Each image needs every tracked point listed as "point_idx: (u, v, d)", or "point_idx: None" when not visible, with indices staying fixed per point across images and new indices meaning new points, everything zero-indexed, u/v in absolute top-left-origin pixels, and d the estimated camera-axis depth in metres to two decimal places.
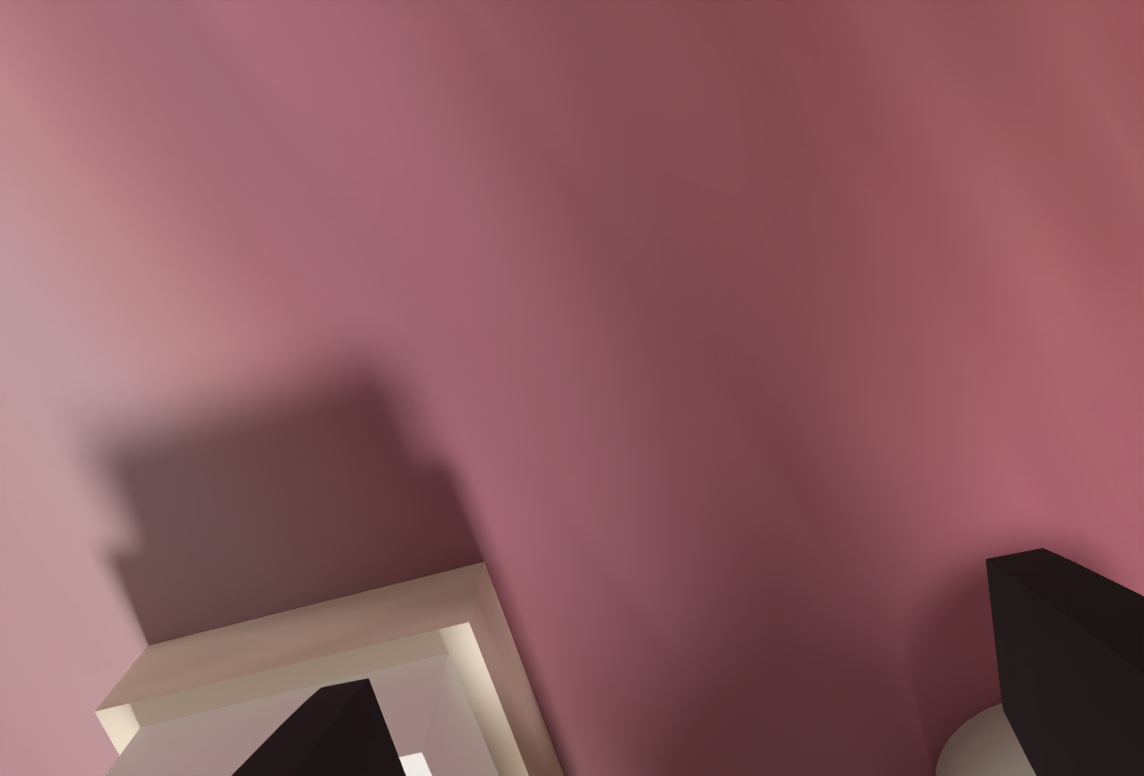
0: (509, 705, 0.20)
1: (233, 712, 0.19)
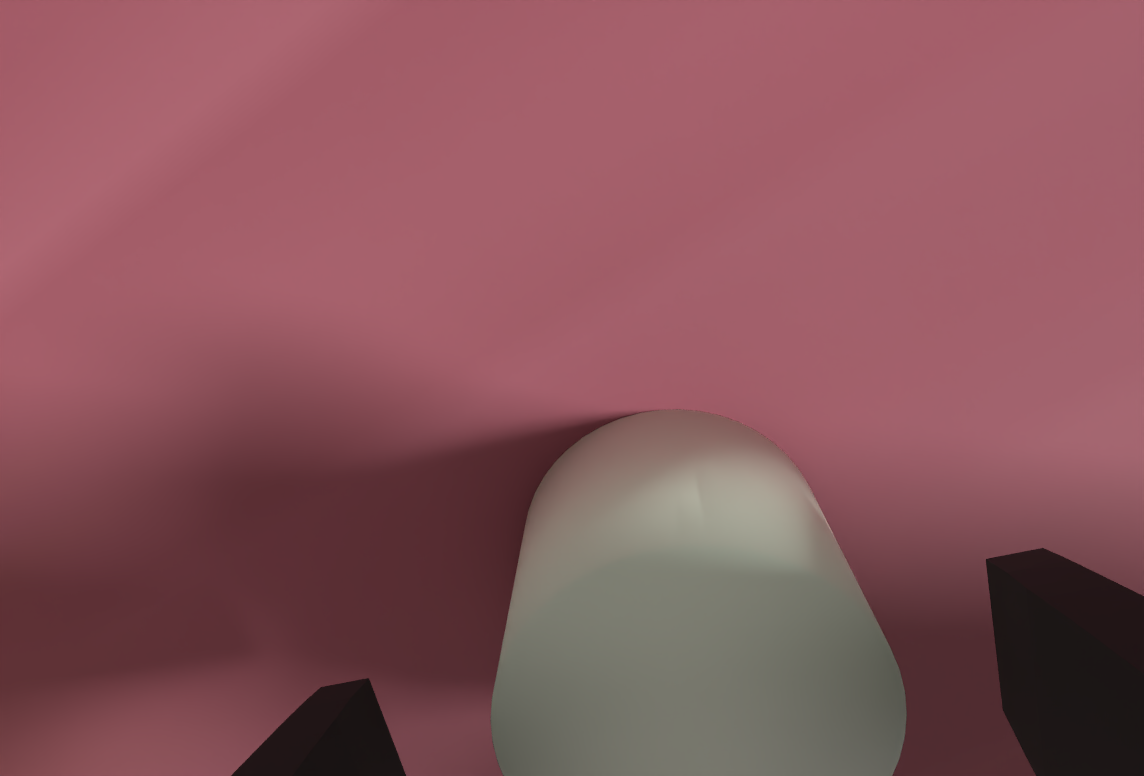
0: None
1: None
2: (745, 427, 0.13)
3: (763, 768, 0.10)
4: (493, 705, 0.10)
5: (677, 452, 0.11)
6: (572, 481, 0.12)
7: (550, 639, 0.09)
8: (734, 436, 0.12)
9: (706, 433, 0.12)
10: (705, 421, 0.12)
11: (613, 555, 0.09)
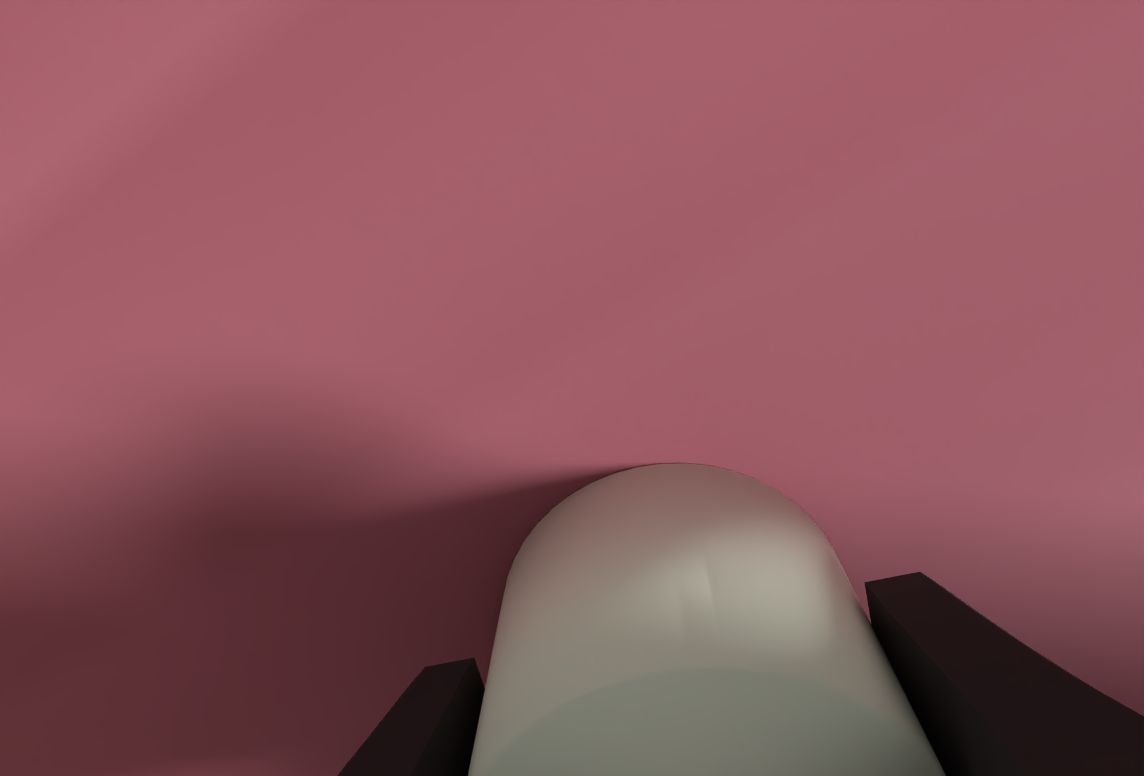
0: None
1: None
2: (761, 485, 0.11)
3: None
4: None
5: (683, 525, 0.09)
6: (556, 557, 0.10)
7: None
8: (749, 498, 0.10)
9: (716, 497, 0.10)
10: (714, 480, 0.10)
11: (603, 677, 0.07)
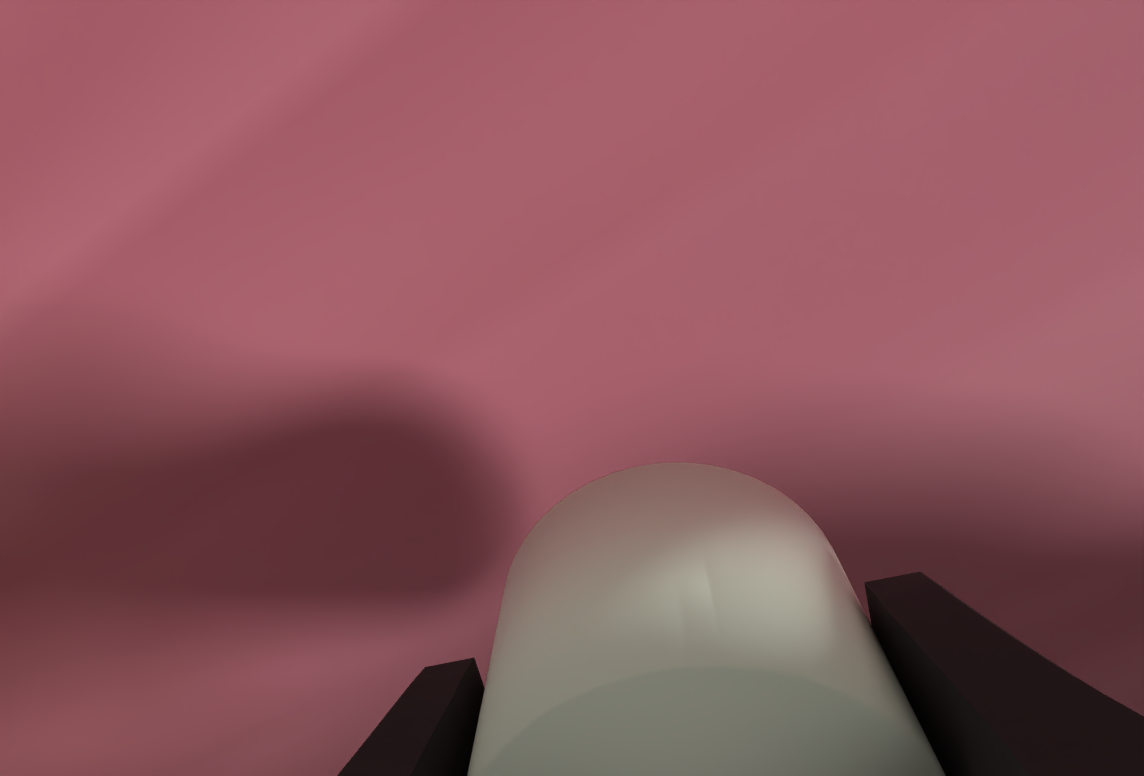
0: None
1: None
2: (760, 484, 0.11)
3: None
4: None
5: (682, 524, 0.09)
6: (556, 555, 0.10)
7: (524, 774, 0.07)
8: (748, 498, 0.10)
9: (715, 495, 0.10)
10: (713, 479, 0.10)
11: (603, 675, 0.07)
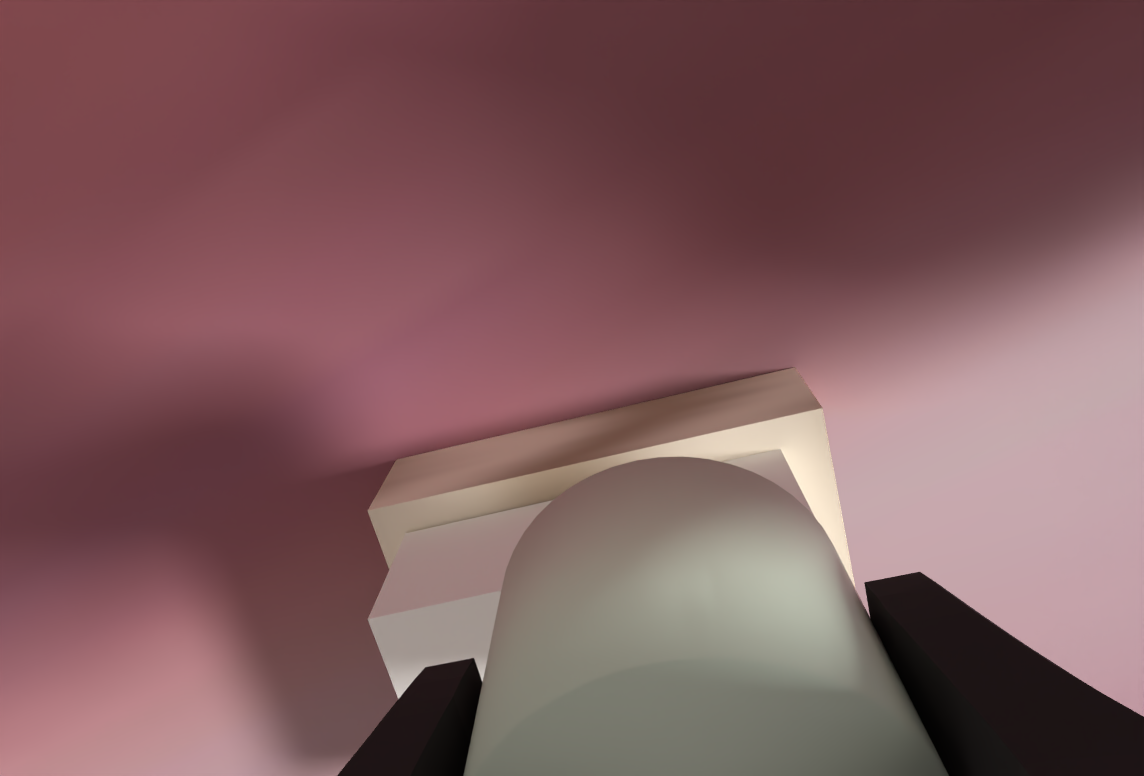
0: (498, 471, 0.18)
1: None
2: (761, 479, 0.11)
3: None
4: None
5: (682, 517, 0.09)
6: (556, 548, 0.10)
7: (524, 768, 0.07)
8: (749, 492, 0.10)
9: (716, 490, 0.10)
10: (714, 474, 0.10)
11: (603, 667, 0.07)
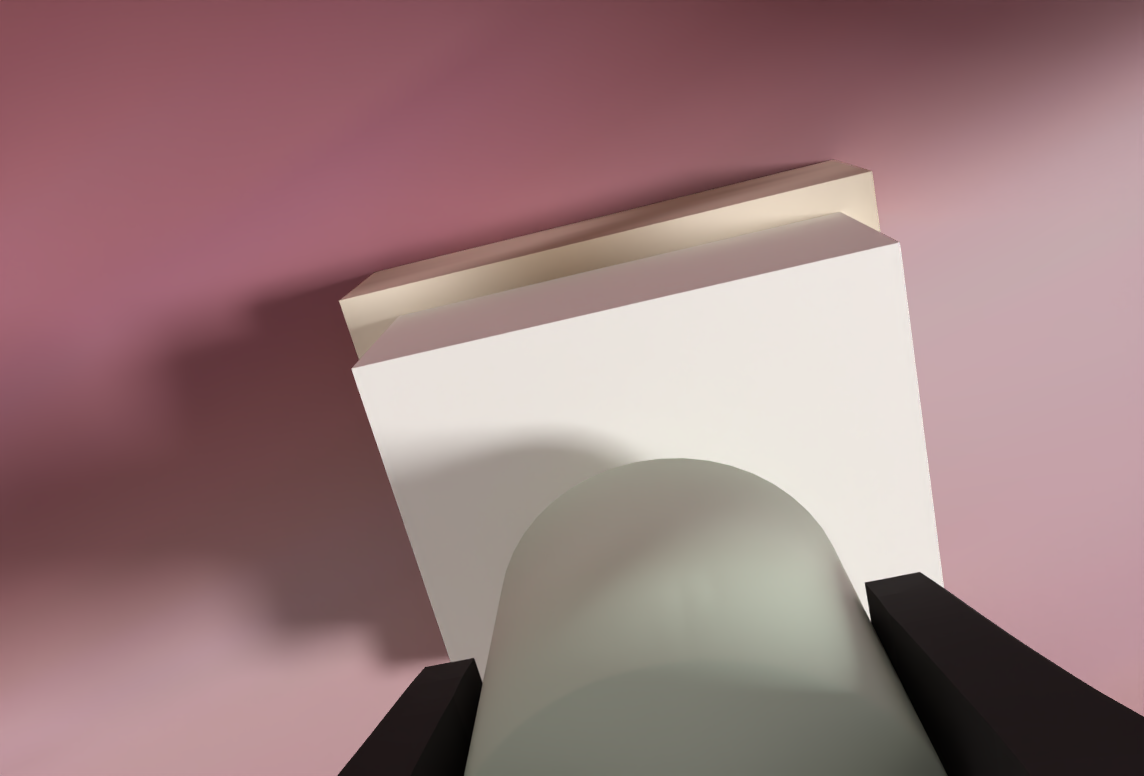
0: (491, 259, 0.15)
1: None
2: (761, 481, 0.11)
3: None
4: None
5: (682, 519, 0.09)
6: (556, 550, 0.10)
7: (523, 770, 0.07)
8: (749, 493, 0.10)
9: (715, 491, 0.10)
10: (714, 475, 0.10)
11: (603, 669, 0.07)
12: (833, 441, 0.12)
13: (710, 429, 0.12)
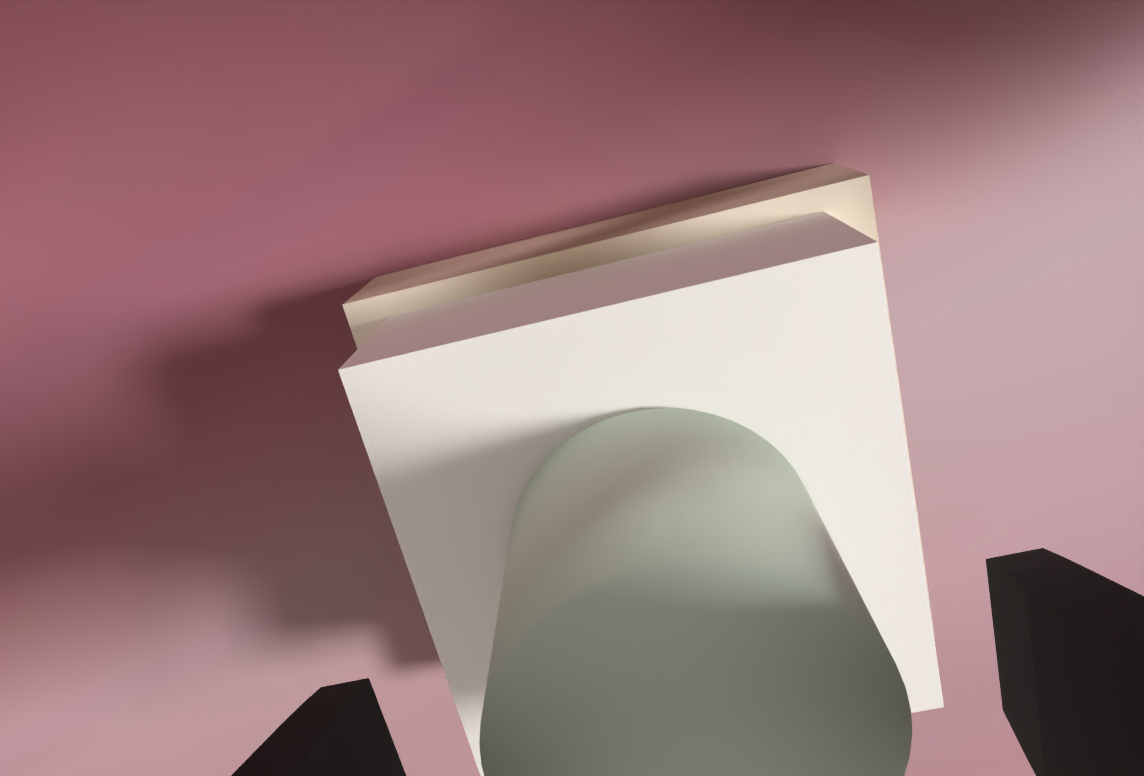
0: (493, 263, 0.15)
1: None
2: (740, 427, 0.12)
3: None
4: (482, 728, 0.09)
5: (671, 457, 0.11)
6: (561, 487, 0.11)
7: (541, 658, 0.09)
8: (730, 436, 0.12)
9: (701, 435, 0.11)
10: (699, 423, 0.12)
11: (608, 574, 0.09)
12: (813, 439, 0.12)
13: None
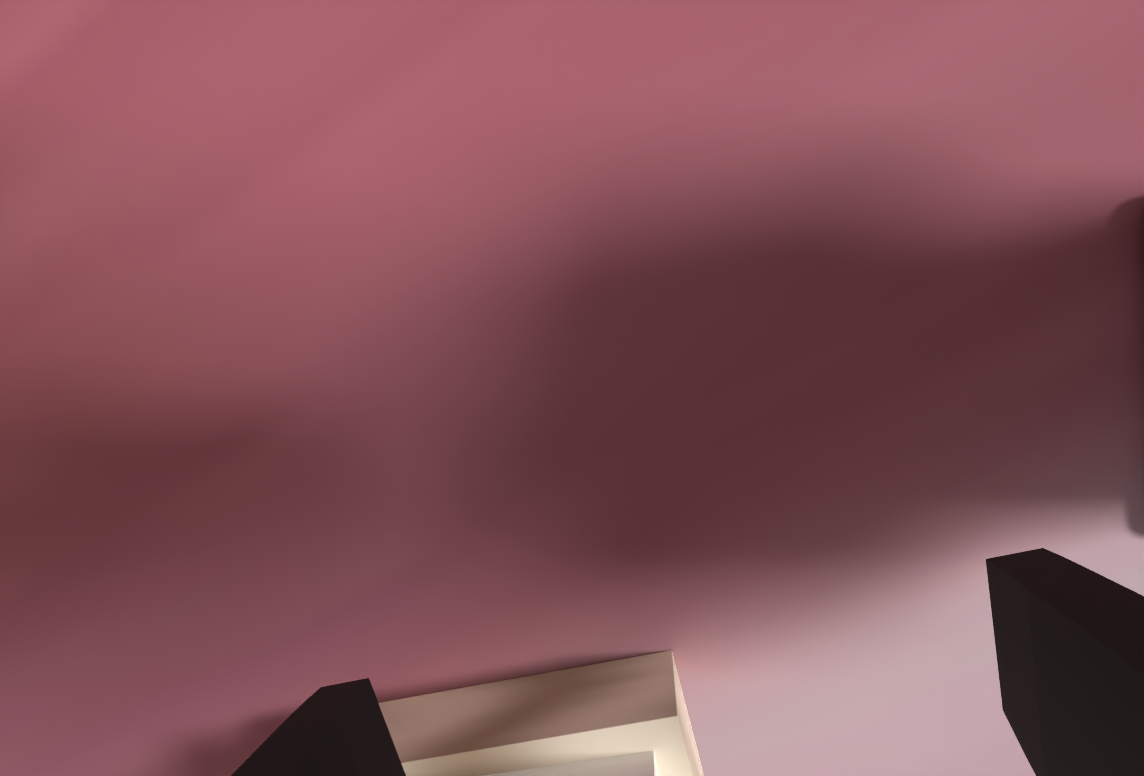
0: (417, 746, 0.21)
1: None
2: None
3: None
4: None
5: None
6: None
7: None
8: None
9: None
10: None
11: None
12: None
13: None
